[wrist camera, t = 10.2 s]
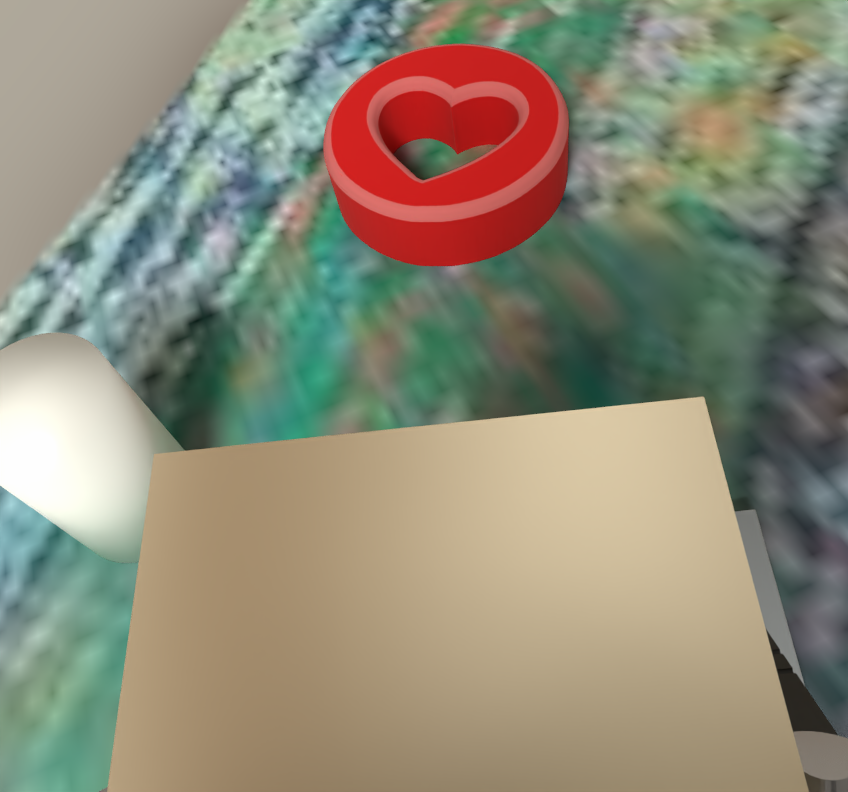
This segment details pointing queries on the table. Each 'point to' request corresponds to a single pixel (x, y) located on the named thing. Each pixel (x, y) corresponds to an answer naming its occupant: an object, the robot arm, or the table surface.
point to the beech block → (453, 615)
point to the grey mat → (766, 586)
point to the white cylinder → (78, 442)
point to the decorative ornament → (460, 129)
